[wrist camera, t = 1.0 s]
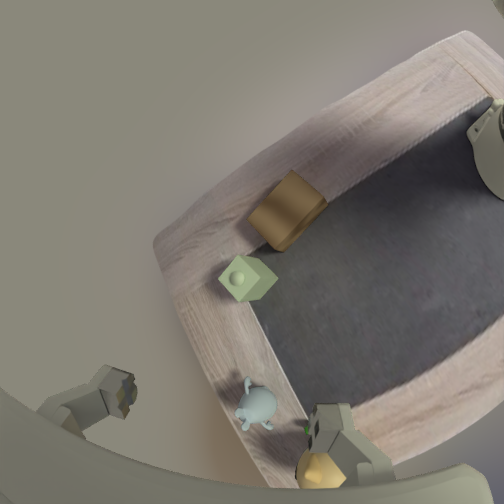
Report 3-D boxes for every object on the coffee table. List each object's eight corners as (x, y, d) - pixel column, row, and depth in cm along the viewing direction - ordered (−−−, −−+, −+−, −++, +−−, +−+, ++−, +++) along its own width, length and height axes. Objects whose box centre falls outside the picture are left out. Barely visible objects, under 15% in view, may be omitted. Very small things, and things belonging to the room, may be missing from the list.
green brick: (258, 258, 49) (236, 254, 41) (278, 278, 47) (259, 277, 40) (241, 279, 50) (216, 278, 42) (259, 299, 48) (237, 302, 41)
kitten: (290, 430, 43) (258, 474, 29) (334, 404, 41) (316, 450, 27) (334, 478, 38) (315, 529, 24) (379, 456, 36) (373, 509, 22)
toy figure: (242, 374, 48) (207, 396, 37) (271, 364, 46) (241, 386, 35) (265, 422, 45) (236, 453, 34) (295, 414, 43) (271, 447, 32)
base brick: (299, 179, 48) (291, 169, 43) (328, 205, 45) (323, 196, 41) (258, 225, 50) (246, 219, 45) (284, 252, 48) (274, 249, 43)
